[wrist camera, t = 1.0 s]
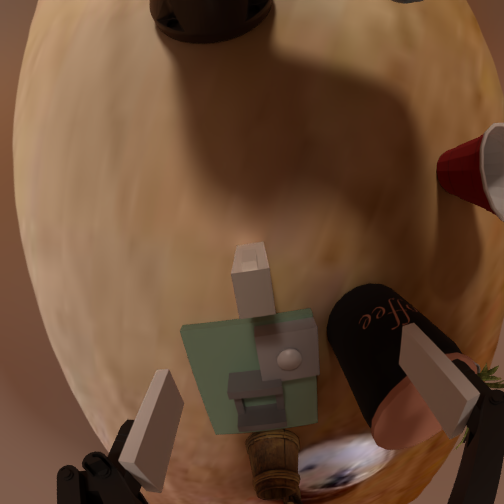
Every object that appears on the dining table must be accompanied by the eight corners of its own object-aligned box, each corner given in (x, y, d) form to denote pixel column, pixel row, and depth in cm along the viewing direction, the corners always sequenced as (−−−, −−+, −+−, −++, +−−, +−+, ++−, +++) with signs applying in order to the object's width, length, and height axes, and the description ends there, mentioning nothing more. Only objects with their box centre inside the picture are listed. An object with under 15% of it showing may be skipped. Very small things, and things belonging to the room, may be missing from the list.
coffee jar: (408, 288, 33) (495, 357, 16) (379, 355, 36) (436, 443, 18) (340, 272, 33) (416, 354, 15) (313, 347, 35) (350, 454, 18)
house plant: (398, 404, 39) (435, 470, 23) (419, 339, 35) (479, 404, 19) (455, 387, 39) (497, 438, 23) (478, 326, 35) (536, 372, 20)
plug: (235, 239, 32) (229, 265, 22) (262, 235, 31) (268, 259, 22) (242, 279, 33) (239, 319, 23) (268, 275, 33) (275, 314, 23)
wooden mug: (278, 469, 42) (285, 543, 25) (235, 440, 40) (231, 529, 22) (318, 452, 41) (336, 530, 24) (280, 420, 38) (291, 516, 21)
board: (182, 325, 34) (172, 348, 29) (310, 308, 34) (320, 329, 28) (216, 428, 39) (213, 453, 33) (315, 416, 38) (322, 440, 33)
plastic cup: (459, 123, 28) (519, 113, 16) (482, 193, 30) (540, 203, 18) (408, 144, 29) (472, 134, 17) (435, 223, 31) (497, 242, 20)
